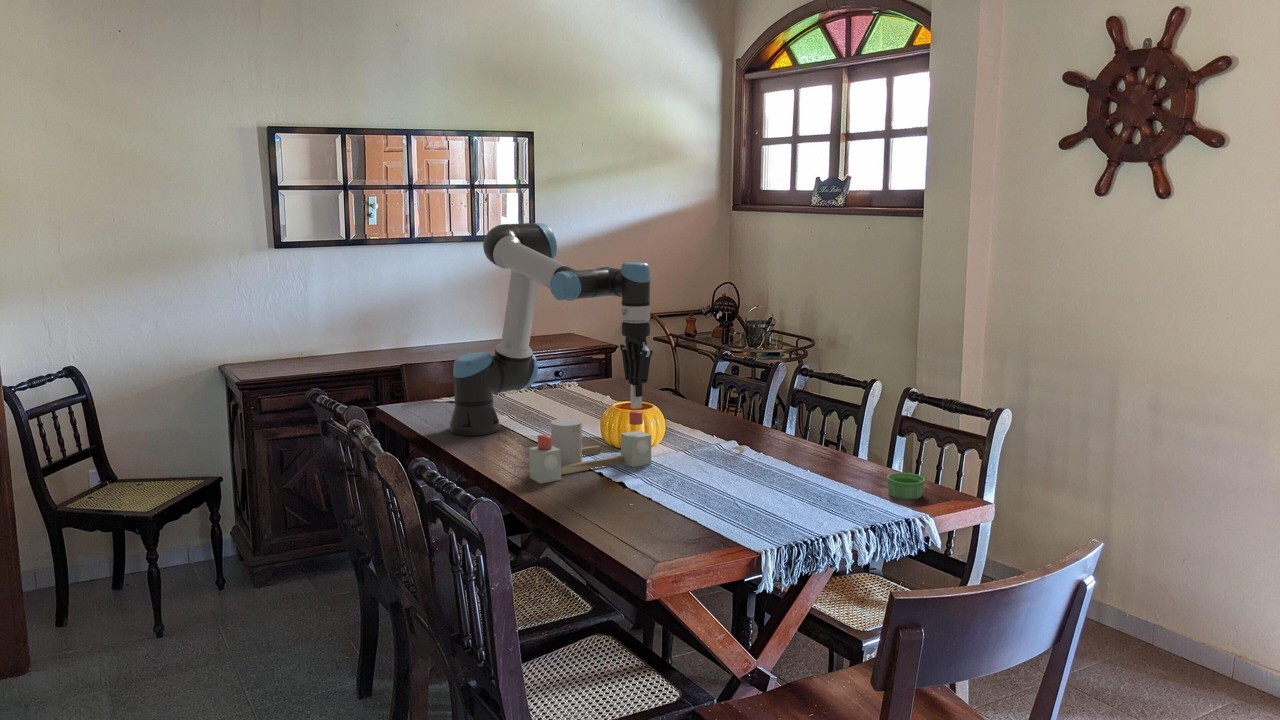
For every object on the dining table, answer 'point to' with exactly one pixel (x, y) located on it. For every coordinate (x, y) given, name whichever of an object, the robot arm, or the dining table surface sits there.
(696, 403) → the dining table surface
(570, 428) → the grey upright cylinder
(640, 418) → the block
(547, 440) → the block
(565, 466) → the channel
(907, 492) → the ramekin
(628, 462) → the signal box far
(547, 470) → the block
